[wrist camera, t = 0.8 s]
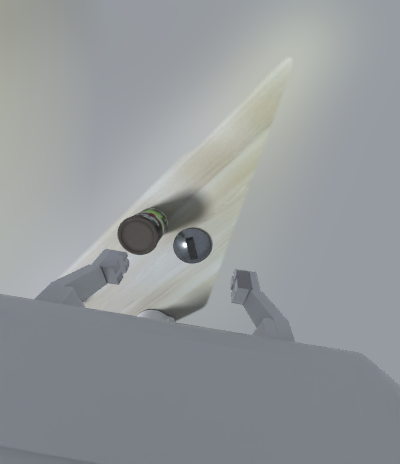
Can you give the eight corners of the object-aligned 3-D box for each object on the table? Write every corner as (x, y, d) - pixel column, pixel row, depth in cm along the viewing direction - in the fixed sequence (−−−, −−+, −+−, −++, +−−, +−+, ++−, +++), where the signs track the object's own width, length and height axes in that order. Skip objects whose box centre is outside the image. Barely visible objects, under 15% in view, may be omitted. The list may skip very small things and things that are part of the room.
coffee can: (143, 202, 52) (125, 209, 39) (173, 216, 54) (164, 228, 40) (132, 229, 55) (111, 244, 42) (160, 242, 57) (149, 261, 43)
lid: (213, 257, 59) (214, 263, 55) (179, 264, 60) (177, 270, 56) (206, 224, 55) (206, 227, 51) (169, 232, 56) (167, 236, 52)
